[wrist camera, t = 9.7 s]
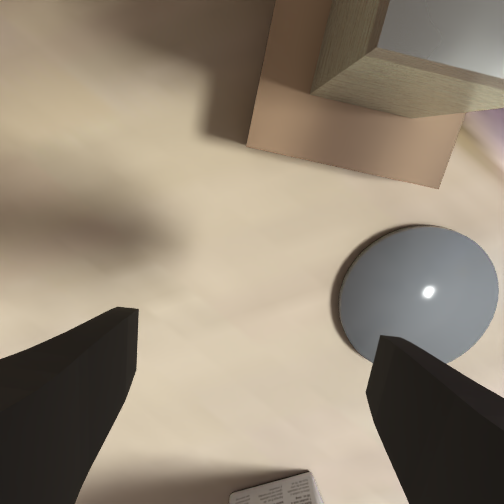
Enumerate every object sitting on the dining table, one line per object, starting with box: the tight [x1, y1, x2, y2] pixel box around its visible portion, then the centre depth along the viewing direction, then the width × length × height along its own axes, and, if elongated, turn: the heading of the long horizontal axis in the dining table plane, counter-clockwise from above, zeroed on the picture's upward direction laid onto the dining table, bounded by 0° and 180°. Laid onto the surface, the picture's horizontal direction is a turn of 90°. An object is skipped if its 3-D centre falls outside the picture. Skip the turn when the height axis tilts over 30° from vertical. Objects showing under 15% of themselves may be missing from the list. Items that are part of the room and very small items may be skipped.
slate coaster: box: [338, 225, 499, 364], centre depth 22 cm, size 9×9×1 cm
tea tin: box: [310, 0, 504, 119], centre depth 11 cm, size 5×5×9 cm
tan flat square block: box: [246, 0, 466, 189], centre depth 17 cm, size 9×9×3 cm
